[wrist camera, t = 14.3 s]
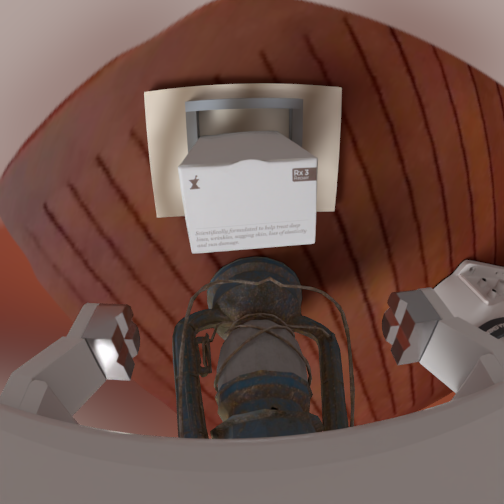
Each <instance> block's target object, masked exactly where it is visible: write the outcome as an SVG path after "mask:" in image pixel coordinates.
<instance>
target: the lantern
mask: <svg viewBox="0 0 504 504" xmlns="http://www.w3.org/2000/svg"><path fill="white" fill-rule="evenodd" d="M206 289H208V290H207V302H208V307H209V309H207V310H202V311H198V312H195V313H193V314H191V315H190V311H191V308H192V304H193V301H194V300H195V298H196V297H197V296H198V294H199V293H201V292H202V291H204V290H206ZM302 289H307V290H311V291H315V292H318V293H321V294H323V295H324V296H325V297H327V298H328V299H329V300H331V301H332V302H334V304H335V305H336V307H337V308H338V310H339V311H340V313H341V316H342V320H343V324H344V328H345V332H346V336H347V341H348V355H349V372H350V394H351V422H350V427H354V396H355V387H354V375H353V364H352V354H351V344H350V335H349V328H348V324H347V321H346V317H345V314H344V312H343V310H342V308H341V306H340V305H339V304H338V303H337V302H336V301H335V300H334V299H333V298H331V297H330V296H329V295H328V294H327V293H325V292H323V291H321V290H319V289H316V288H314V287H308V286H301V284H300V281H299V279H298V277H297V275H296V274H295V273H294V271H293V270H291V269H290V268H289V267H288V266H286V265H285V264H284V263H282V262H279V261H276V260H273V259H270V258H267V257H257V256H256V257H248V258H241V259H238V260H236V261H234V262H232V263H230V264H228V265H226V266H224V267H222V268H221V269H220V270H219V271H218V272H217V273H216V274H215V275H214V277H213V278H212V280H211V281H210V283H209V284H206V285H204V286H203V287H202V288H201V289H200V290H199V291H198V292H197V293H196V294H195V295H194V296H192V297H191V298H190V302H189V305H188V309H187V312H186V316H185V317H184V318H183V319H181V320H180V321H179V322H178V324H177V325H176V326H175V329H174V333H173V343H172V349H173V364H174V377H175V389H176V400H177V421H178V436H179V437H178V438H197V439H209V438H208V433H207V429H206V423H205V416H204V409H203V402H202V395H201V387H200V379H199V375H200V376H201V377H205V376H207V375H208V373H212V368H211V353H210V343H209V342H212V341H213V339H214V336H215V334H216V332H217V333H218V334H219V336H220V337H221V338H223V339H224V340H225V341H224V343H223V346H222V347H221V351H220V356H219V361H218V366H217V375H216V378H215V381H214V387H215V390H216V391H217V392H218V393H217V394H216V396H215V399H216V401H217V404H218V414H219V416H220V417H221V419H222V421H223V423H221V424H220V425H218V426H217V427H216V428H214V429H213V430H211V431H210V433H211V437H212V439H242V438H264V437H278V436H290V435H299V434H308V433H316V432H322V431H330V430H337V429H343V428H348V419H347V411H346V404H345V394H344V383H343V373H342V363H341V354H340V348H339V345H338V343H337V340H336V337H335V334H334V333H332V332H331V331H330V330H329V329H328V328H326V327H325V326H324V325H322V324H321V323H318V322H316V321H314V320H312V319H310V318H308V317H306V316H302V315H301V308H300V306H301V302H302ZM209 328H214V329H215V330H214V333H213V335H212V338H211V339H209V335H208V334H207V333H206V336H205V337H196V334H197V333H198V332H199V331H202V330H205V329H209ZM294 332H297V333H300V334H303V335H305V336H308V337H310V338H312V339H313V340H315V341H316V342H317V345H318V348H319V362H320V378H321V396H322V419H323V424H322V422H321V421H320V419H319V417H318V416H316V415H313V414H311V413H309V408H310V399H311V397H312V395H313V394H312V391H311V388H310V384H311V380H312V376H311V369H310V366H309V363H308V361H307V359H306V358H305V357H304V356H303V355H302V352H301V349H300V347H299V344H298V342H297V341H296V340H295V334H294ZM195 337H196V338H195ZM199 343H202V350H203V364H204V366H205V367H201V366H200V364H201V358H200V352H199V347H198V344H199ZM205 344H206V345H205ZM206 357H207V361H208V365H209V366H207V361H206ZM305 364H306V365H305ZM306 367H307V371H308V374H309V377H308V380H307V372H306ZM201 373H202V374H201ZM217 383H218V387H217Z"/></svg>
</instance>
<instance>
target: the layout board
mask: <svg viewBox="0 0 504 504" xmlns="http://www.w3.org/2000/svg"><path fill="white" fill-rule="evenodd" d="M144 99H145V114H146V126H147V138H148V148H149V158H150V167H151V175H152V183H153V191H154V199H155V206H156V213H157V217H174V216H185V213H184V208H183V201H182V195H181V189H180V180H179V174H178V166H179V165H180V164H181V163H182V161H183V160H184V159H185V157H186V156H187V154H188V153H189V152H190V150H191V149H192V147H193V146H194V145H195V143H196V142H197V140H198V139H199V137H200V136H204V135H217V134H223V133H234V132H247V131H278V132H279V133H281V134H282V135H284V136H285V137H287V138H288V139H290V140H291V141H293V142H295V143H296V144H297V145H299V146H300V147H302V148H303V149H305V150H306V151H308V152H309V153H311V154H312V155H314V156H315V157H317V158H318V173H317V203H316V212H325V211H335V201H336V190H337V177H338V164H339V148H340V129H341V103H342V87H332V86H319V85H303V84H271V83H253V84H221V85H204V86H192V87H181V88H172V89H163V90H156V91H149V92H144Z"/></svg>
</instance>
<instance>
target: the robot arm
mask: <svg viewBox="0 0 504 504" xmlns="http://www.w3.org/2000/svg"><path fill="white" fill-rule="evenodd" d="M387 303H388V305H389V307H390V308H389V309H388V310H387V311H386V312H385V313H384V316H383V319H382V331H383V335H384V337H385V339H386V341H387V342H389V343H390V344H392V348H391V352H392V354H393V356H394V358H395V360H396V363H397V365H402V364H408V363H413V362H419V361H420V362H419V363H420V364H422V365H423V366H424V367H425V368H426V369H428V370H429V371H430V372H431V373H432V374H434V375H435V376H436V377H437V378H438V379H440V380H441V381H442V382H443V383H444V384H446V385H447V386H448V387H449V388H450V389H451V390H453V391H454V392H455V393H456V394H455V396H454V397H453V399H452V400H451V401H450V402H447V403H444V404H441V405H438V406H435V407H431V408H429V409H425V410H421V411H418V412H414V413H411V414H407V415H403V416H399V417H395V418H391V419H387V420H383V421H378V422H374V423H369V424H364V425H359V426H354V427H348V428H343V429H337V430H330V431H323V432H316V433H308V434H299V435H290V436H278V437H264V438H242V439H197V438H176V437H175V438H174V437H161V436H150V435H141V434H131V433H124V432H117V431H111V430H104V429H98V428H93V427H88V426H82V425H79V424H78V422H77V421H76V420H75V419H74V418H73V415H74V414H75V413H76V412H77V411H78V410H79V409H80V408H81V406H82V405H83V404H84V403H85V402H86V401H87V400H88V399H89V398H90V397H91V396H92V395H93V394H94V393H95V392H96V391H97V390H98V388H99V387H100V386H101V385H102V384H103V383H104V382H105V381H106V379H112V380H130V379H131V376H132V372H133V368H134V365H135V364H134V362H133V359H132V358H133V357H134V356H136V355H137V354H138V351H139V347H140V335H139V330H138V327H137V325H136V324H135V323H134V322H133V321H131V320H132V317H133V312H132V309H131V307H130V306H129V305H127V304H101V303H100V304H96V303H87V304H85V305H84V306H83V307H82V309H81V311H80V313H79V315H78V316H77V318H76V320H75V322H74V324H73V326H72V327H71V329H70V331H69V333H68V335H67V337H62V338H60V339H59V340H57V341H56V342H55V343H53V344H52V345H50V346H49V347H47V348H46V349H45V350H43V351H42V352H40V353H39V354H38V355H36V356H35V357H33V358H32V359H31V360H29V361H28V362H26V363H25V364H24V365H22V366H21V367H20V368H18V369H17V370H15V371H14V372H13V373H12V374H11V376H10V378H9V380H8V382H7V383H6V386H5V388H4V390H3V392H2V394H1V396H0V504H504V267H501V266H496V265H491V264H486V263H482V262H477V261H472V260H465V261H463V262H462V263H461V264H460V265H459V267H458V268H457V269H456V270H455V271H454V273H453V274H452V275H450V276H449V277H448V278H446V279H445V280H443V281H442V282H441V283H440V284H438V285H437V286H436V287H435V288H434V289H432V288H423V289H417V290H410V291H401V292H392V293H391V294H390V296H389V299H388V302H387Z"/></svg>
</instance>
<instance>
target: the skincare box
mask: <svg viewBox="0 0 504 504" xmlns="http://www.w3.org/2000/svg"><path fill="white" fill-rule="evenodd" d="M317 173H318V158H317V157H315V156H314V155H312V154H311V153H309V152H308V151H306V150H305V149H303V148H302V147H300V146H299V145H297V144H296V143H295V142H293V141H291V140H290V139H288V138H287V137H285V136H284V135H282V134H281V133H279V132H278V131H247V132H234V133H223V134H217V135H204V136H200V137H199V139H198V140H197V142H196V143H195V145H194V146H193V147H192V149H191V150H190V152H189V153H188V154H187V156H186V157H185V159H184V160H183V161H182V163H181V164H180V165H179V166H178V174H179V180H180V189H181V195H182V201H183V208H184V213H185V219H186V225H187V230H188V236H189V241H190V246H191V251H192V253H207V252H219V251H232V250H244V249H257V248H269V247H280V246H292V245H305V244H314V243H315V235H316V203H317Z"/></svg>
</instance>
